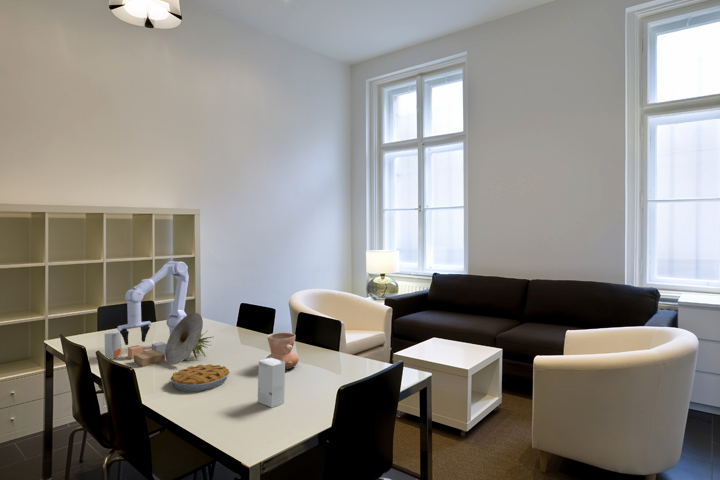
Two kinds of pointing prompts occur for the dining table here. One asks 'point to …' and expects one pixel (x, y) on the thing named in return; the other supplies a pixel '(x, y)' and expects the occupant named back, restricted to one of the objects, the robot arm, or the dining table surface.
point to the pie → (200, 377)
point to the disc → (186, 339)
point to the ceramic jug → (283, 348)
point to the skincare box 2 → (271, 382)
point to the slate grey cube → (159, 347)
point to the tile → (147, 349)
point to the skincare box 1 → (113, 344)
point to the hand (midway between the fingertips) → (135, 343)
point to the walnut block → (149, 358)
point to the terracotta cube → (134, 351)
